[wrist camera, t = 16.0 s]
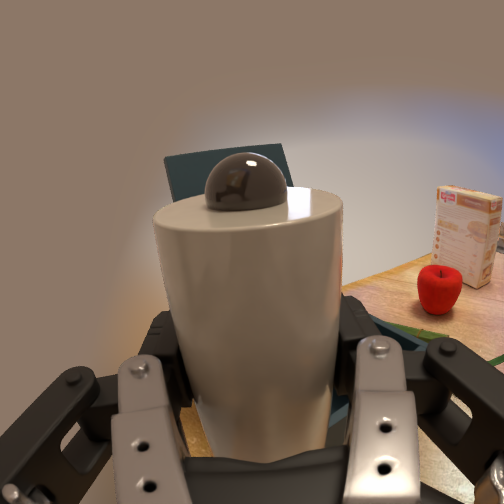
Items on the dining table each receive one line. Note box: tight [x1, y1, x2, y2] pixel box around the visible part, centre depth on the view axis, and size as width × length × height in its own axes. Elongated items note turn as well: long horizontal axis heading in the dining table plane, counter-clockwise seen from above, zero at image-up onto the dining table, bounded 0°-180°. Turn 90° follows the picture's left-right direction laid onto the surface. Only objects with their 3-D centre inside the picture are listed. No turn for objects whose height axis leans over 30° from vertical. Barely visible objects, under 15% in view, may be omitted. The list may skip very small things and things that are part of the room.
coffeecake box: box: [431, 185, 502, 289], centre depth 58 cm, size 15×7×20 cm, turn 20°
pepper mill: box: [153, 153, 343, 463], centre depth 9 cm, size 5×5×12 cm
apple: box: [417, 265, 463, 315], centre depth 49 cm, size 9×9×8 cm
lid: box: [164, 143, 294, 203], centre depth 32 cm, size 16×14×1 cm
